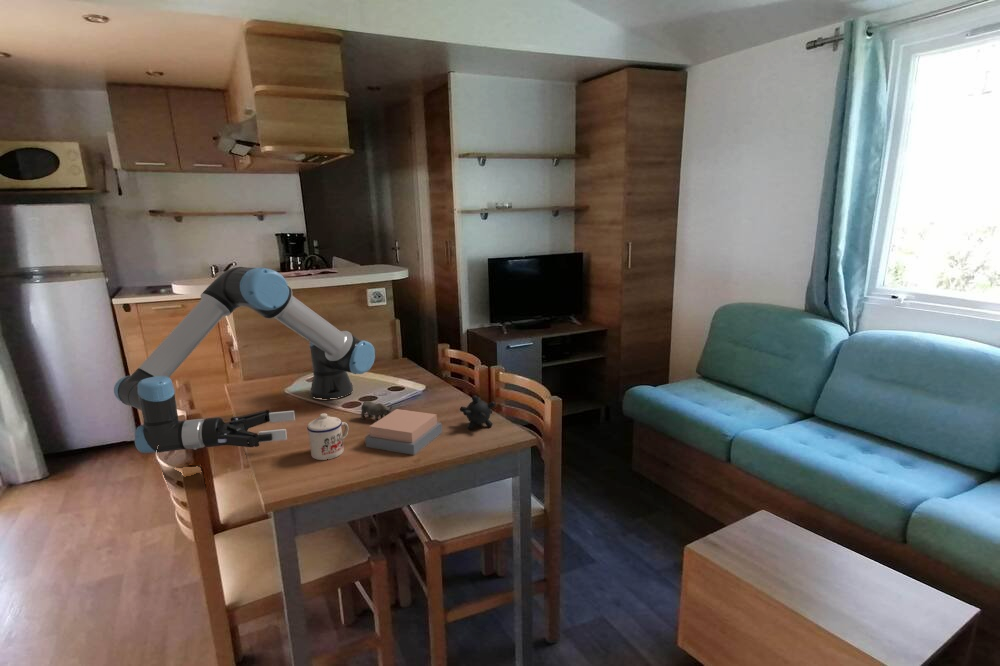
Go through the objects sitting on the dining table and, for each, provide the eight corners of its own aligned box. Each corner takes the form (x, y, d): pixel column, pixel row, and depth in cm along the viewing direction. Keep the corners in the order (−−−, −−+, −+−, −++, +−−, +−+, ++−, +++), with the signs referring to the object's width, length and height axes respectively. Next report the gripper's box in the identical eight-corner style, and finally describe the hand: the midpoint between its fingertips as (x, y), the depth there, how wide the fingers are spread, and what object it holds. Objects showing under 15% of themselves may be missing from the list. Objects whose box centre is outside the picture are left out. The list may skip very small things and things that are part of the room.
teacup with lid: (323, 464, 141) (319, 423, 138) (303, 455, 146) (298, 416, 143) (359, 447, 150) (356, 409, 148) (339, 440, 155) (335, 402, 153)
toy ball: (509, 417, 161) (481, 419, 152) (488, 434, 166) (460, 437, 158) (495, 388, 166) (467, 388, 157) (475, 406, 171) (447, 407, 162)
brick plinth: (397, 425, 165) (395, 407, 163) (442, 432, 159) (441, 413, 157) (365, 446, 150) (364, 427, 149) (414, 455, 144) (412, 434, 143)
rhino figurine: (392, 426, 165) (391, 408, 163) (358, 419, 171) (356, 402, 169) (400, 421, 168) (399, 403, 167) (367, 415, 174) (365, 398, 173)
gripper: (220, 428, 151) (298, 420, 156) (191, 467, 128) (284, 457, 132) (216, 403, 150) (295, 396, 154) (186, 438, 126) (280, 429, 130)
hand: (290, 424), depth 143 cm, fingers open, 13 cm apart
